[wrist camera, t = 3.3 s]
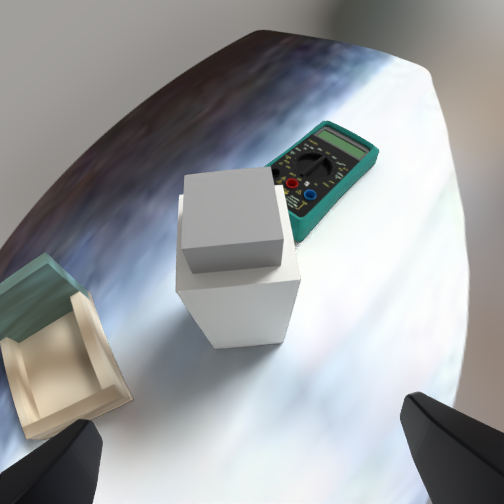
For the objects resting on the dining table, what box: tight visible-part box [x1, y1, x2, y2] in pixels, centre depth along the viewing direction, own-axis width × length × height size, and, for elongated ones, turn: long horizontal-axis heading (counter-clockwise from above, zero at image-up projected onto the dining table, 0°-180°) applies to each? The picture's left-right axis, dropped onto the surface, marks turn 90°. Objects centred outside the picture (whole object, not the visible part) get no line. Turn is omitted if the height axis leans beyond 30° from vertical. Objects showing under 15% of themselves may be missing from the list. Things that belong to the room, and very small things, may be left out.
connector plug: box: [176, 167, 301, 349], centre depth 17 cm, size 5×5×13 cm
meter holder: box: [0, 252, 133, 440], centre depth 17 cm, size 10×10×7 cm
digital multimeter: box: [264, 121, 379, 241], centre depth 29 cm, size 7×15×3 cm, turn 137°
